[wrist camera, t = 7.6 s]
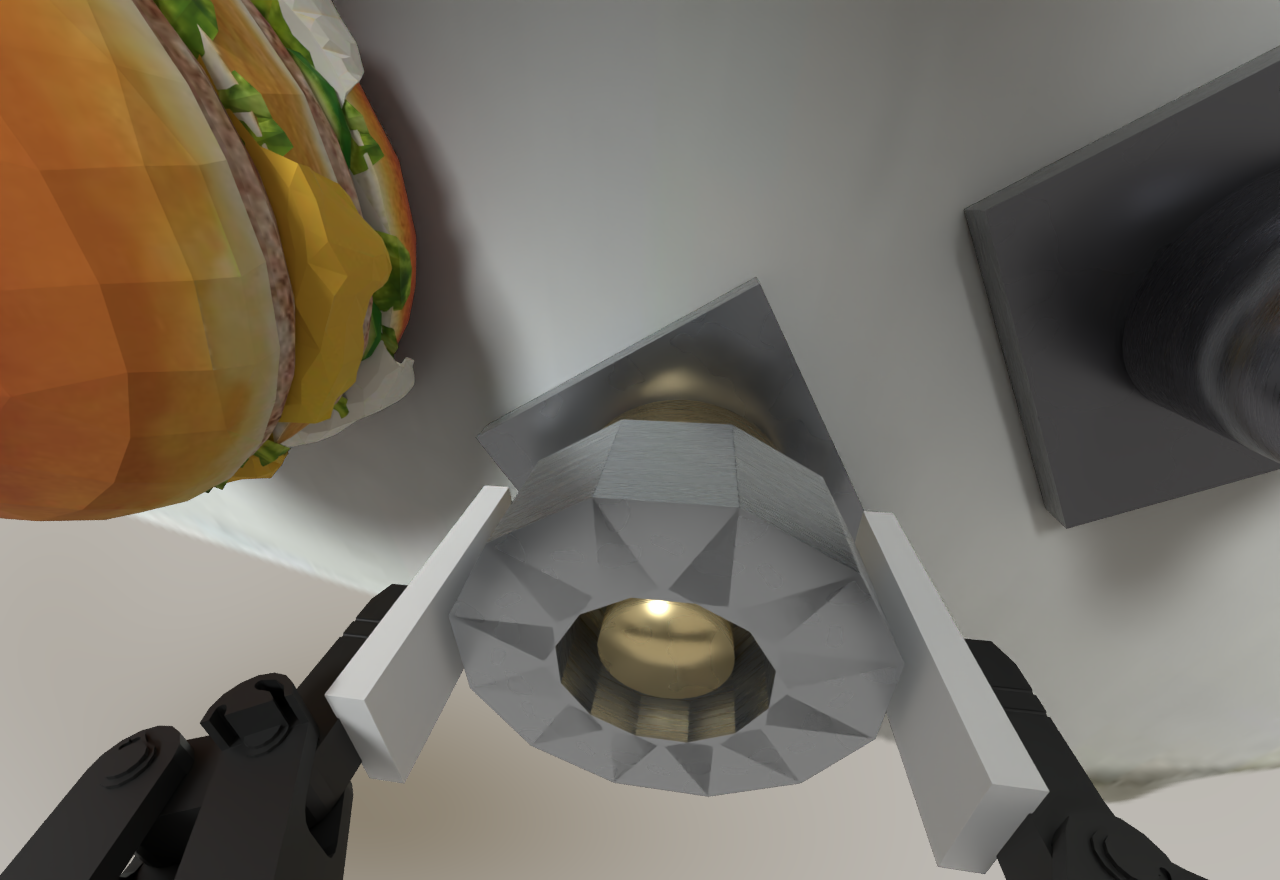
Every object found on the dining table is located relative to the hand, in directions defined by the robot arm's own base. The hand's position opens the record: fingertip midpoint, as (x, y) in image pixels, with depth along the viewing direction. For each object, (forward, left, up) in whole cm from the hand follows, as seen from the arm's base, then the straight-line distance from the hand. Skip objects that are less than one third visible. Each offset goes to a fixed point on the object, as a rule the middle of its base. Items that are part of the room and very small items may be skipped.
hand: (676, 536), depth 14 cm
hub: (0, 0, -3) cm, 3 cm away
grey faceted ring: (0, 0, +1) cm, 1 cm away
